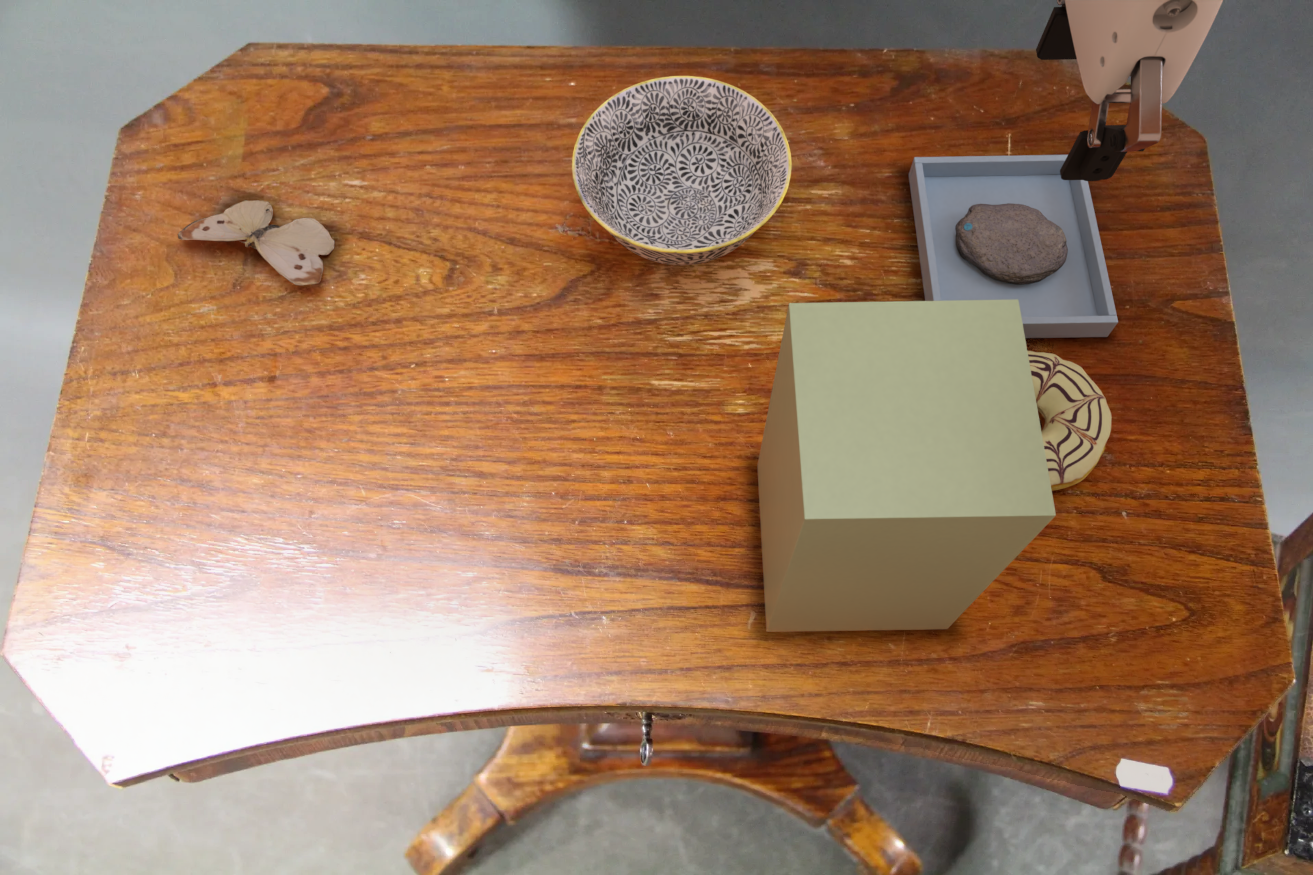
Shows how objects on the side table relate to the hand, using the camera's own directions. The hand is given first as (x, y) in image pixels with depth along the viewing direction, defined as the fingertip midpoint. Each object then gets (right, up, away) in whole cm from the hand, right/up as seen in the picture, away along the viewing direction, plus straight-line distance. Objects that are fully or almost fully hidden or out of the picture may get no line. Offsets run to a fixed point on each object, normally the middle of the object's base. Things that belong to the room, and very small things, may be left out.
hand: (1071, 114), depth 69 cm
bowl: (-25, -4, +16) cm, 30 cm away
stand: (-14, -28, +4) cm, 32 cm away
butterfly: (-58, -6, +15) cm, 60 cm away
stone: (0, -6, +14) cm, 15 cm away
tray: (0, -7, +14) cm, 15 cm away
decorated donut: (-1, -20, +8) cm, 22 cm away
